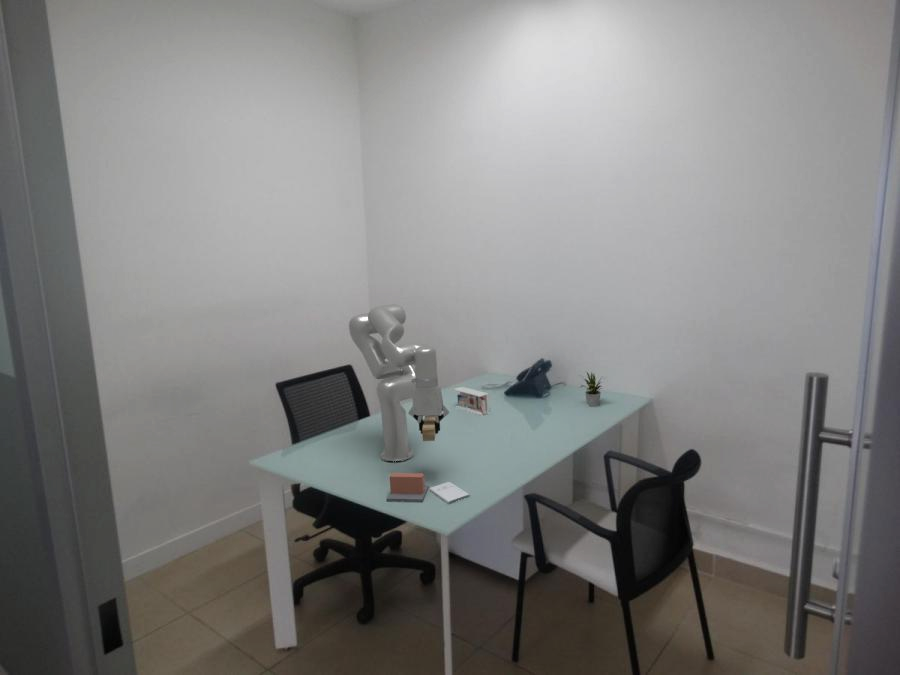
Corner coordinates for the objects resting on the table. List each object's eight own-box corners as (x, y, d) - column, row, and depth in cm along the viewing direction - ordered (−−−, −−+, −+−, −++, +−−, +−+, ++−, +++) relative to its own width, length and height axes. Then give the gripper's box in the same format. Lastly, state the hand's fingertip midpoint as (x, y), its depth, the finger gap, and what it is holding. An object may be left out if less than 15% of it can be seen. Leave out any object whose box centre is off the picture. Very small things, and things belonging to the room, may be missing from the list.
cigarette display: (454, 407, 279) (453, 389, 277) (462, 404, 283) (461, 386, 281) (482, 415, 264) (481, 396, 262) (491, 412, 268) (490, 393, 266)
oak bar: (425, 426, 205) (424, 415, 205) (436, 426, 205) (435, 415, 204) (422, 441, 192) (422, 430, 191) (434, 440, 192) (434, 429, 191)
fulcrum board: (394, 487, 195) (392, 468, 194) (428, 488, 193) (427, 469, 192) (386, 501, 186) (385, 481, 184) (422, 502, 184) (421, 482, 182)
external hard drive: (448, 506, 181) (429, 492, 192) (470, 498, 185) (449, 485, 196) (448, 501, 181) (429, 487, 191) (469, 494, 185) (449, 480, 196)
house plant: (570, 402, 276) (569, 369, 273) (595, 398, 280) (595, 366, 277) (585, 410, 262) (585, 376, 259) (611, 406, 266) (611, 372, 263)
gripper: (400, 385, 193) (403, 436, 196) (449, 385, 190) (452, 436, 193) (405, 379, 200) (408, 428, 203) (452, 379, 197) (455, 428, 201)
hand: (429, 431), depth 198 cm, fingers closed on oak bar, 4 cm apart
